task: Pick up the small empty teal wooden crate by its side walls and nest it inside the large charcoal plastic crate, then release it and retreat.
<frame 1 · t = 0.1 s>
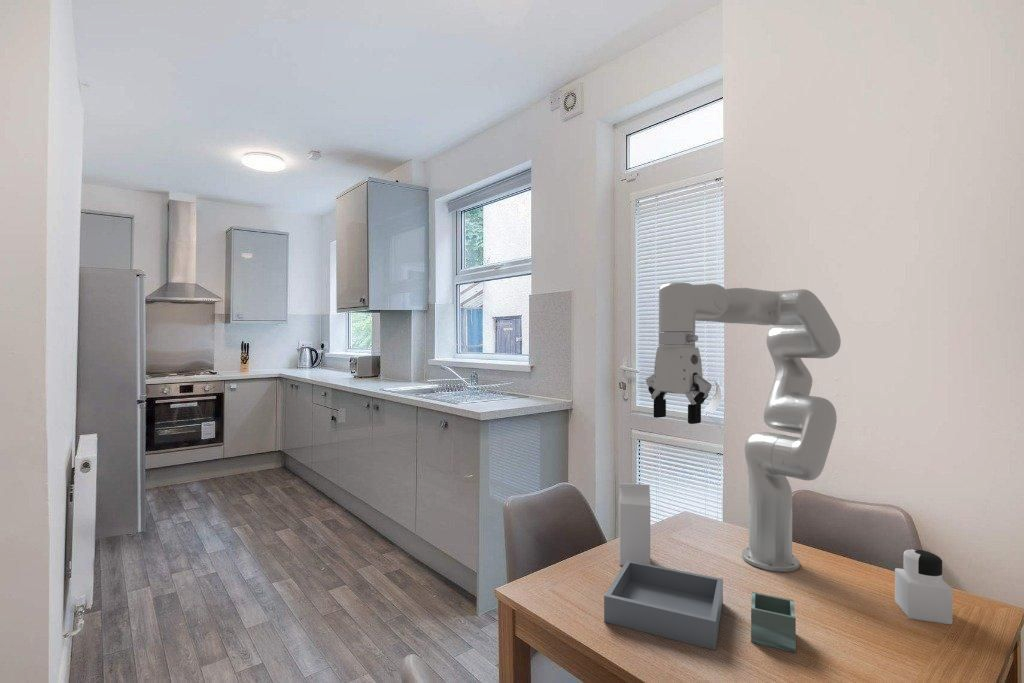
hand: (676, 420, 109), 37 cm above the table, tool pointing down, fingers open, 9 cm apart
charcoal crate: (665, 612, 101), on the table
teal crate: (772, 637, 92), on the table
medicine bottle: (922, 614, 101), on the table
milk carton: (634, 561, 125), on the table
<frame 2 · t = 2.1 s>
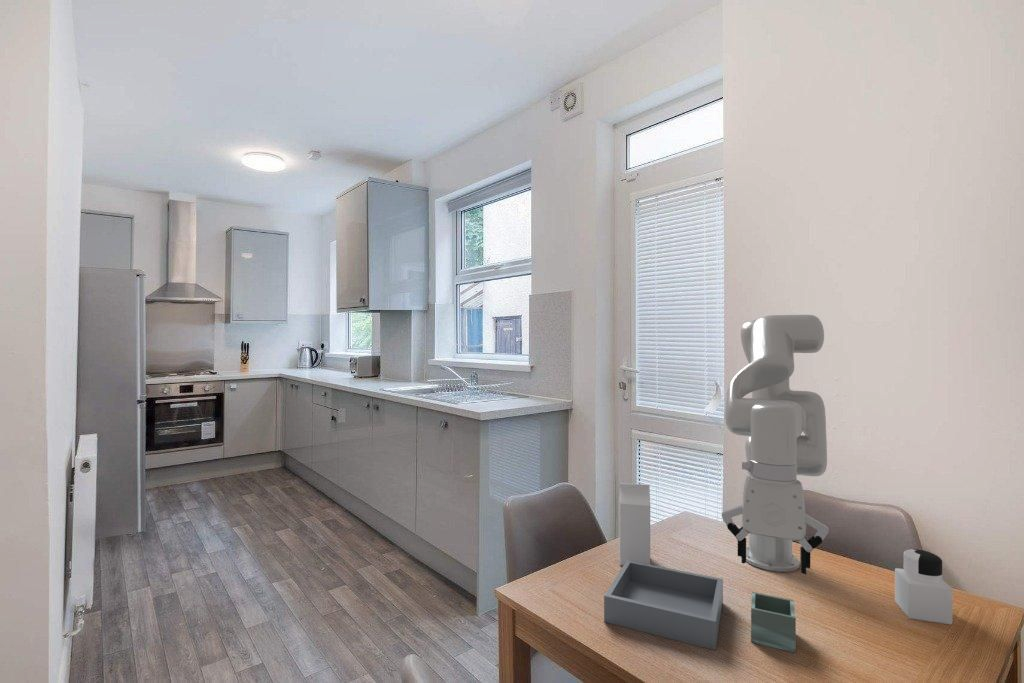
hand: (772, 565, 92), 13 cm above the table, tool pointing down, fingers open, 9 cm apart
nothing on the table moved.
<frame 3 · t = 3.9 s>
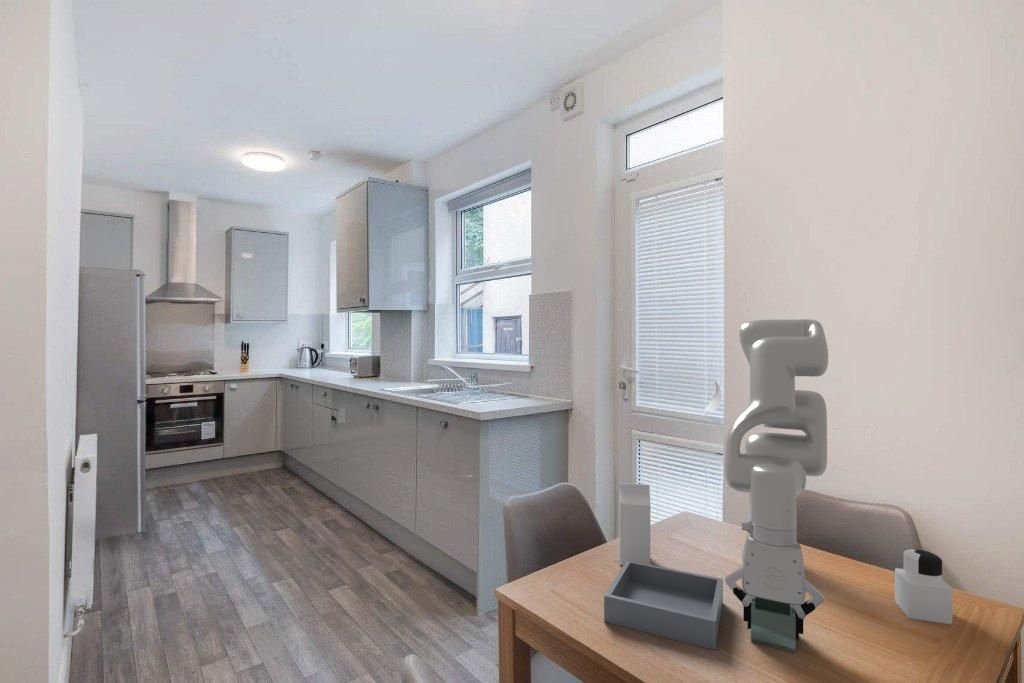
hand: (772, 630, 92), 1 cm above the table, tool pointing down, fingers closed on teal crate, 7 cm apart
teal crate: (772, 637, 92), on the table, touching gripper
everything else where it was.
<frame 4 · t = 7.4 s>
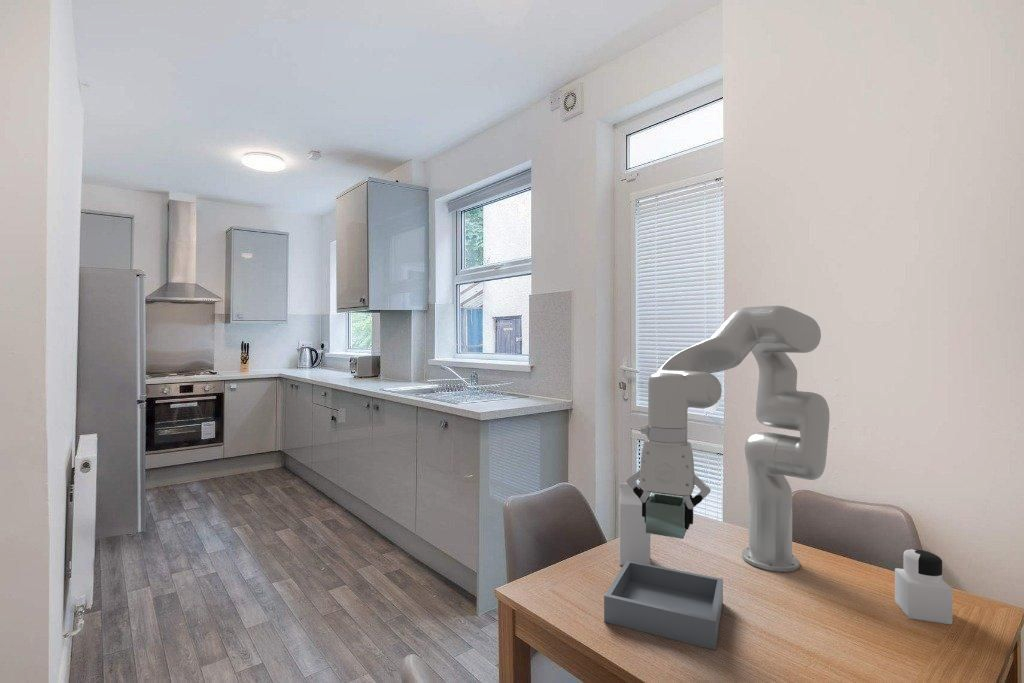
hand: (667, 523, 101), 18 cm above the table, tool pointing down, fingers closed on teal crate, 7 cm apart
teal crate: (667, 529, 101), point 16 cm above the table, touching gripper
everything else where it was.
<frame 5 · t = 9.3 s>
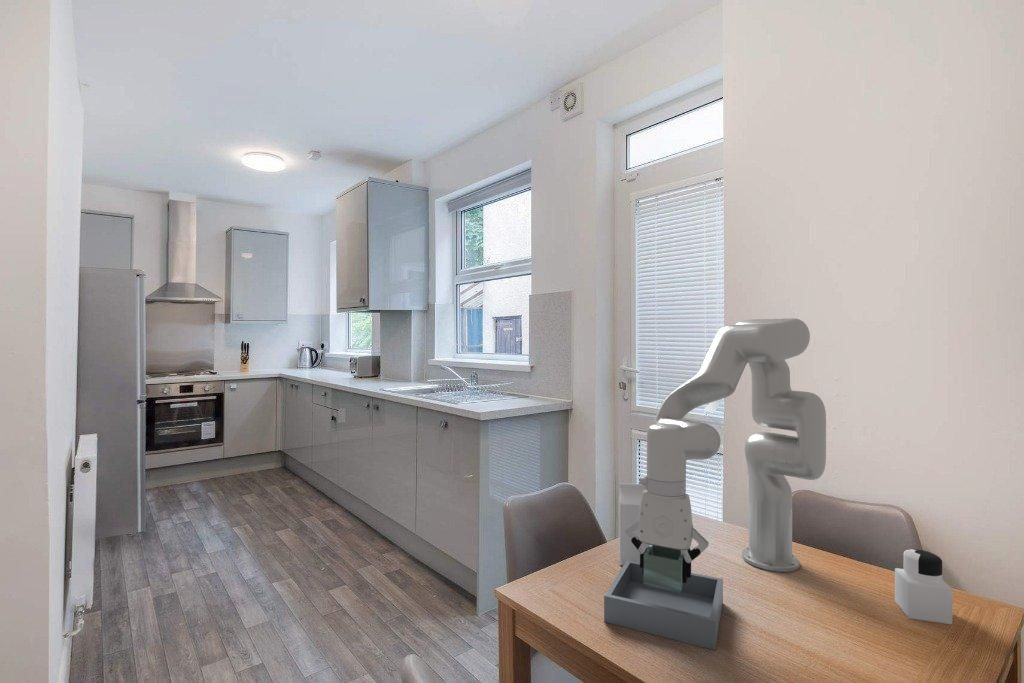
hand: (665, 575, 101), 7 cm above the table, tool pointing down, fingers closed on teal crate, 7 cm apart
teal crate: (664, 581, 101), point 6 cm above the table, touching gripper
everything else where it was.
when the fingers open (4 cm above the table, at t = 11.0 s): teal crate drops 1 cm, resting on charcoal crate.
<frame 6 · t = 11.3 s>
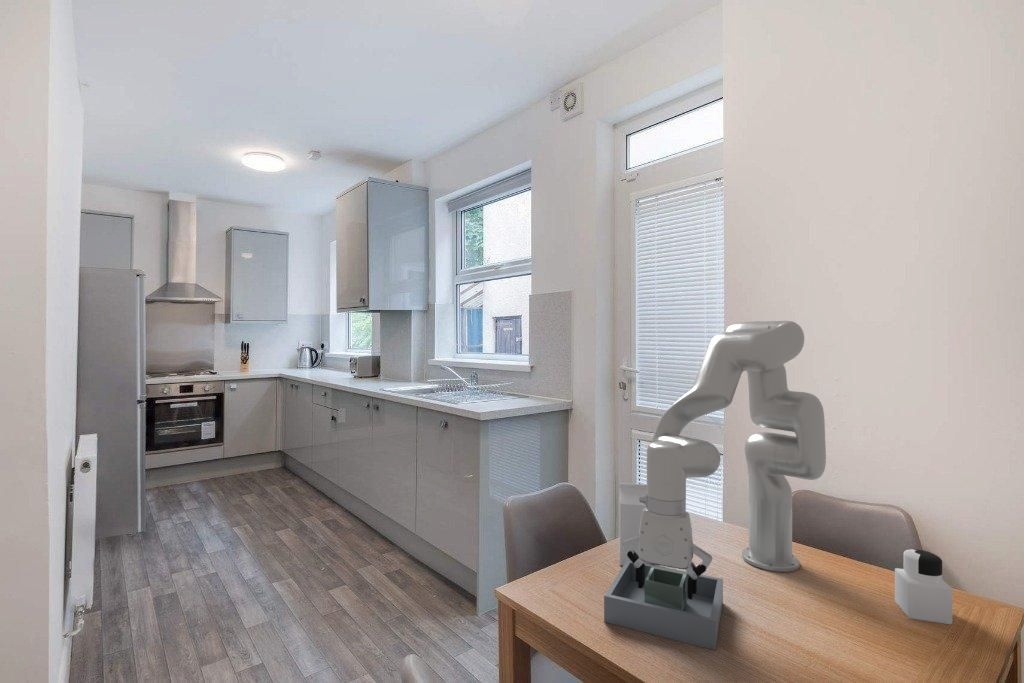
hand: (665, 590, 101), 4 cm above the table, tool pointing down, fingers open, 9 cm apart
teal crate: (665, 607, 101), point 1 cm above the table, touching charcoal crate
everything else where it was.
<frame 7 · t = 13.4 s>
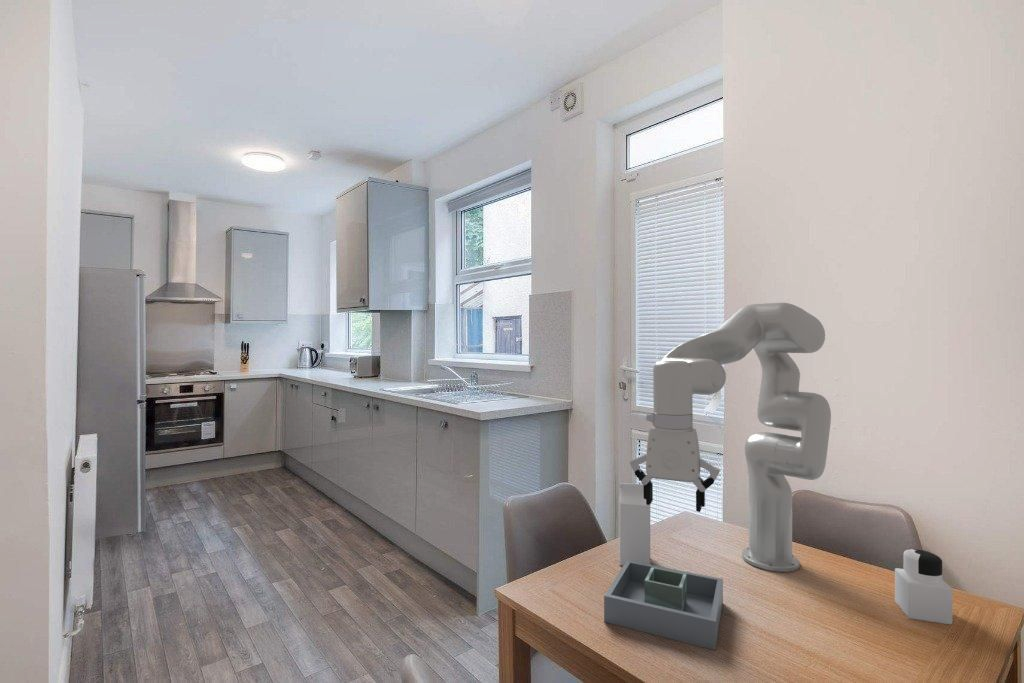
hand: (673, 506, 102), 21 cm above the table, tool pointing down, fingers open, 9 cm apart
nothing on the table moved.
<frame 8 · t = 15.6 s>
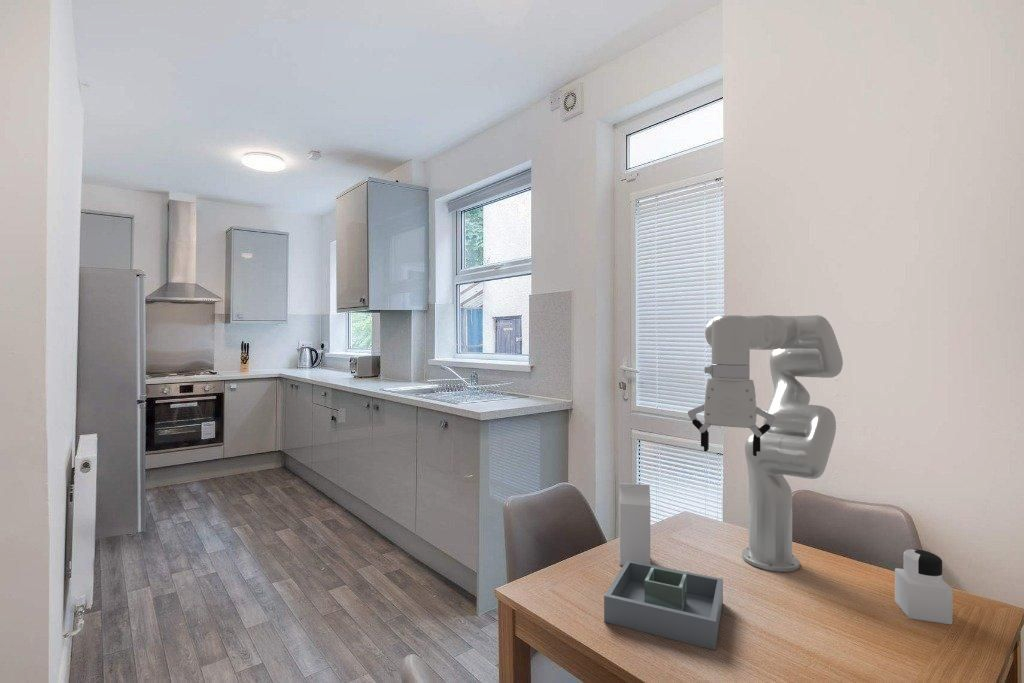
hand: (730, 452, 109), 30 cm above the table, tool pointing down, fingers open, 9 cm apart
nothing on the table moved.
at the end: teal crate inside the target area on the charcoal crate (0.0 cm from its centre), point 1.0 cm above the charcoal crate's base; teal crate tilted 0°; the gripper is holding nothing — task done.
